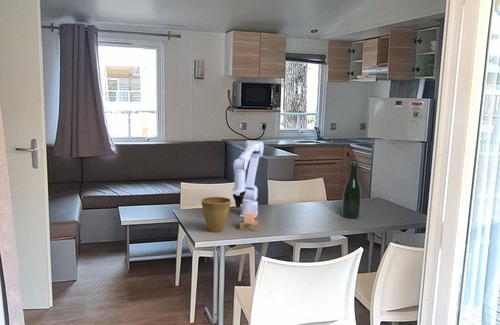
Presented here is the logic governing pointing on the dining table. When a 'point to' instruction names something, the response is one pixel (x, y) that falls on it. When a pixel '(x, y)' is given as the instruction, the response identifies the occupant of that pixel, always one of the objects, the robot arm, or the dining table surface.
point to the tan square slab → (249, 225)
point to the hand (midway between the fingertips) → (239, 205)
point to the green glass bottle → (352, 194)
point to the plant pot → (216, 212)
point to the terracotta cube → (249, 217)
